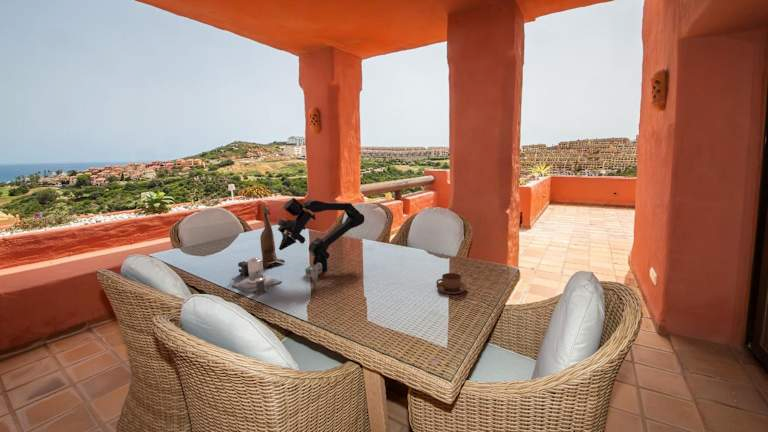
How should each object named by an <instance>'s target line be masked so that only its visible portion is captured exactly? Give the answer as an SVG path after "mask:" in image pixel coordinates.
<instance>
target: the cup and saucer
mask: <svg viewBox="0 0 768 432" xmlns="http://www.w3.org/2000/svg"><path fill="white" fill-rule="evenodd" d="M435 284H436V289H437V291H439V292H441V293H444V294H448V295H450V294H451V295H452V294H453V295H456V294H458V295H459V294H461V293H464V292H465V291H466V290H467V285H466V284H465V283H463V282H462V276H461V274H458V273H454V272H446V273H443V274H442V276H441V278H439V279H437V280H436V283H435Z"/></svg>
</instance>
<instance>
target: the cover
mask: <svg viewBox="0 0 768 432" xmlns="http://www.w3.org/2000/svg"><path fill="white" fill-rule="evenodd" d="M262 260H263V259H262V258H259V257H252V258H251V259H248V260H247V262H248V271H249V275H248V277H247V278H248V279H247V278H246V279H247V283H248V284H256V281H255V279H256V278H260V277H263V278H264V282H265V281H266V276H267V275H265V274H264V269H263V262H262Z"/></svg>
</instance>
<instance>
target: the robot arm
mask: <svg viewBox="0 0 768 432" xmlns="http://www.w3.org/2000/svg"><path fill="white" fill-rule="evenodd" d="M283 210H285V211H286V212H287V213H288V214H289V215H291V216H292V217H295V219H289V218H288V219H282V218H279V219H278V222H277V226H279V227H278V228H277V231H278V232H279V233H281V235H282V239H281V242H280V244H279V247H278V250H280V251H282V250H284V249H286V248H287V247H289V246H291V245H293V244H297V241H298V242H299V243H300V244H302V245H304V244H305V242H306V237H305V236H303V235H302V234H301V233H302V231H303V230H304V231H305V230H306V229H307V228H306V226H307V225H308V224H309V222H310V221H311V220H312V221H316V214H312V213H321V212H325V211H344V212H345V214H346V216H347V217H346V219H345V221H344V222H343V223H342V224H340V225H339V226H337V227H336V228H334V230H332V231H331V232H329V233H328V234H327V235H325V237H322V238H320V237H316V238H314V240H313V241H310V244H309V245H308V252H309V253H310V254H311V255H312V257H313V260H312V265H316V264H317V263H321V264H322V272H327V271H328V270H329V267H330V266H329V260H328V259H329V258H330V253H329V252H328V248H329V246H331V245H332V244H333V243H334V242H336V241H337V240H338V239H339V238H341V237H342V236H343V235H344V234H346V233H348V231H350V230H351V229H354V228H357V227H359V226H361V225H362V224H364V223H365V220H366V219H365V216H364V214H363V213H361V212H360V211H359V210H358V209H356V208H355V206H353V204H352V203H351V202H346V201H345V202H326V201H325V202H324V201H320V200H314V199H308V200H307V201H306V202H303V203H301V202H299V201H298V200H297V199H296V198H295V197H292V198H291V199H290V200H288V201H287V202H286V203H285V204H284V206H283ZM311 212H312V213H311Z"/></svg>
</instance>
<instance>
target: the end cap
mask: <svg viewBox="0 0 768 432" xmlns="http://www.w3.org/2000/svg"><path fill="white" fill-rule="evenodd" d="M262 262H263V259H262ZM237 264H238V265H237V266H238V273H239V276H241V277H243V276H244V278H245V277H249V271H248V261H245V260H244V261H240V262H238V263H237ZM264 269H265V268H264V262H263V270H264Z"/></svg>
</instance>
